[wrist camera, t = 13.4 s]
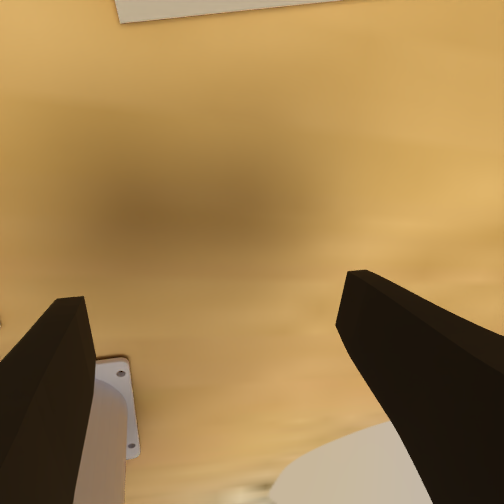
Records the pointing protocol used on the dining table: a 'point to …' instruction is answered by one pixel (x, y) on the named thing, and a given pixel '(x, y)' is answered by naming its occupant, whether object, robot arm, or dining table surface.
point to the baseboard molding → (193, 7)
